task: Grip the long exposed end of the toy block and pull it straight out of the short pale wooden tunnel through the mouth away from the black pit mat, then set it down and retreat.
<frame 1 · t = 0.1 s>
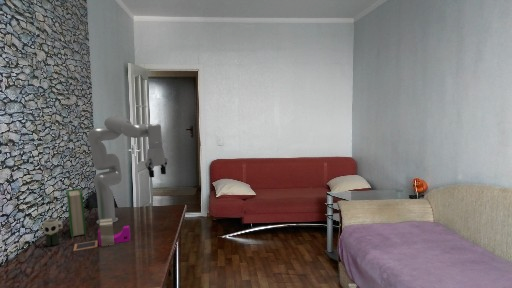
hand: (157, 175, 205), 31 cm above the table, tool pointing down, fingers open, 9 cm apart
hardback book: (78, 232, 209), on the table
character mug: (52, 245, 190), on the table
toy block: (115, 242, 191), on the table
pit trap: (86, 246, 185), on the table
tunnel: (107, 242, 189), on the table
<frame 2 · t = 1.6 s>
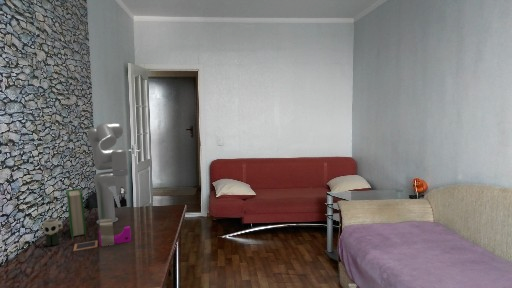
hand: (123, 204, 191), 19 cm above the table, tool pointing down, fingers open, 9 cm apart
toy block: (115, 242, 190), on the table
everything else where it was.
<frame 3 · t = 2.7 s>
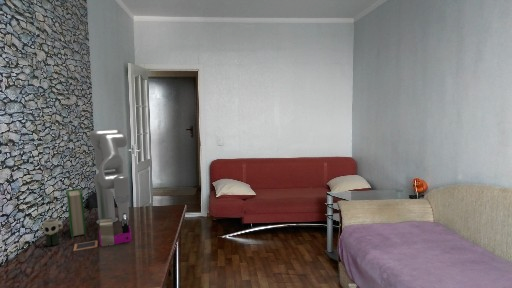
hand: (125, 230, 192), 5 cm above the table, tool pointing down, fingers open, 9 cm apart
nothing on the table moved.
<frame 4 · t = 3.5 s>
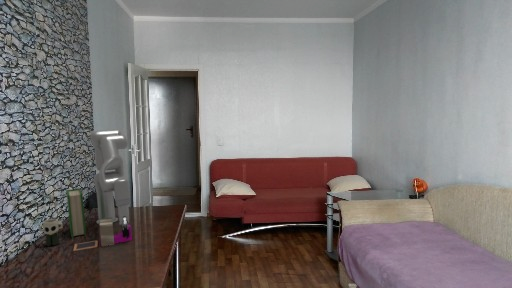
hand: (125, 234, 192), 3 cm above the table, tool pointing down, fingers closed on toy block, 6 cm apart
toy block: (116, 241, 191), on the table, touching gripper
everything else where it was.
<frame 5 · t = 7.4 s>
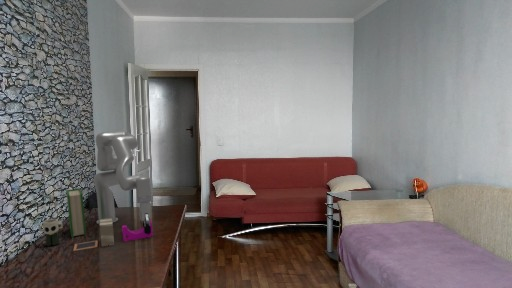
hand: (147, 231, 197), 3 cm above the table, tool pointing down, fingers closed on toy block, 6 cm apart
toy block: (138, 237, 195), on the table, touching gripper
everything else where it was.
when the fingers open (2 cm above the table, at t = 7.7 s): toy block stays where it is, on the table.
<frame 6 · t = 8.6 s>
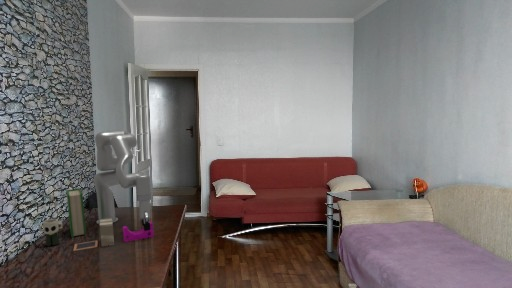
hand: (146, 227, 197), 4 cm above the table, tool pointing down, fingers open, 9 cm apart
toy block: (138, 238, 195), on the table
everything else where it was.
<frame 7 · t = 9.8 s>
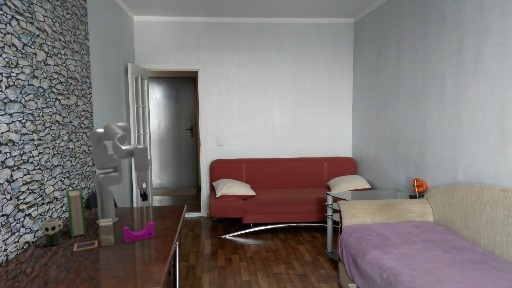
hand: (144, 199, 195), 20 cm above the table, tool pointing down, fingers open, 9 cm apart
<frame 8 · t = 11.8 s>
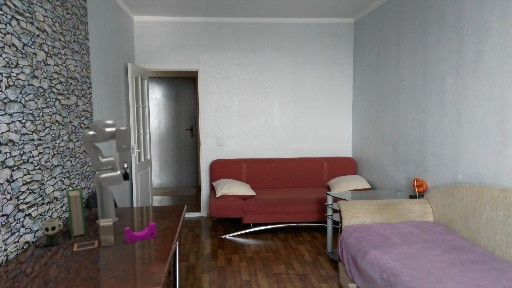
hand: (126, 179, 202), 30 cm above the table, tool pointing down, fingers open, 9 cm apart
toy block: (141, 239, 193), on the table
everything else where it was.
at the end: toy block inside the target area (3.2 cm from its centre), on the table; toy block touching table; toy block tilted 0° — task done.
